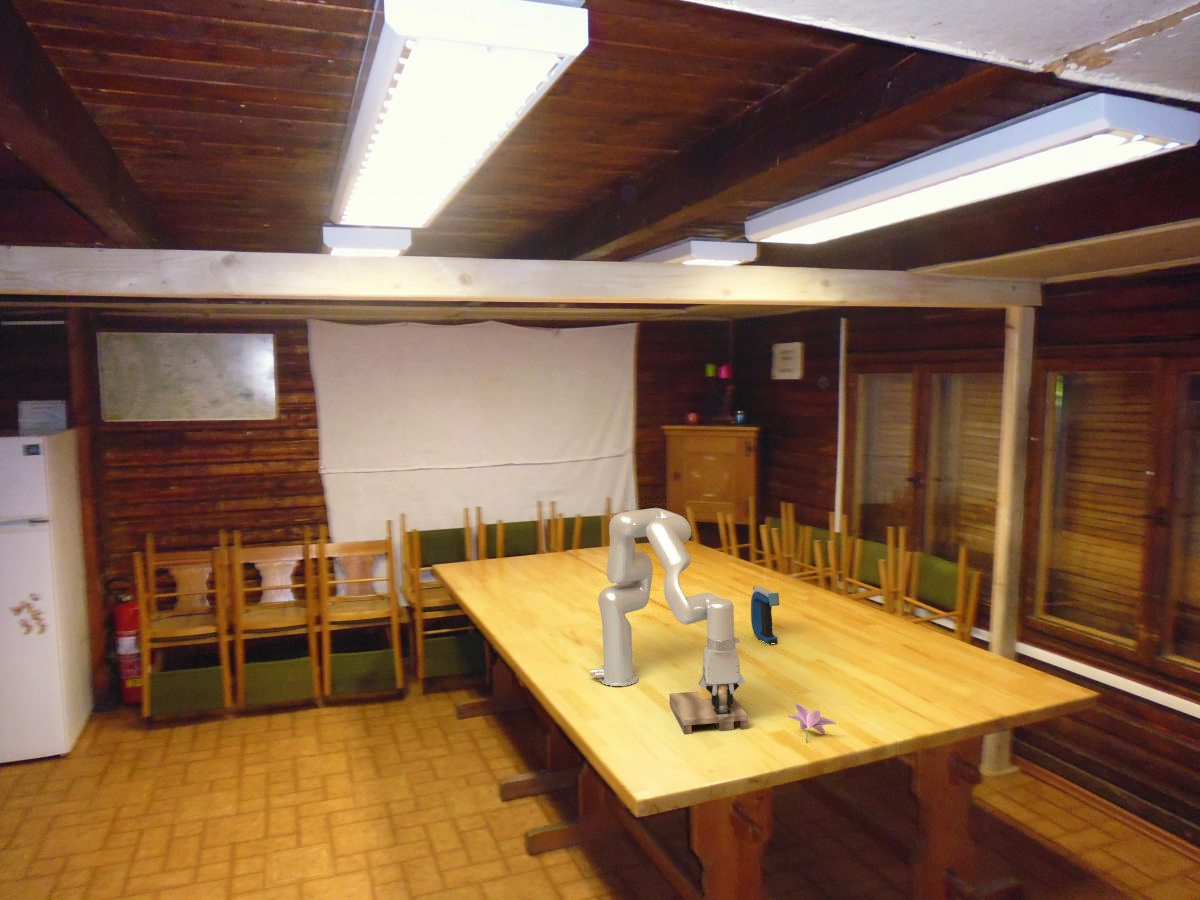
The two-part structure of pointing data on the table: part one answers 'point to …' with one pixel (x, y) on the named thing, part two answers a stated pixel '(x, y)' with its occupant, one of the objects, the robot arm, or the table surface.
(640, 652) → the table surface
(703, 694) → the block
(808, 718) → the lily
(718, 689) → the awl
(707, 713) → the board
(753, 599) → the handheld scanner
